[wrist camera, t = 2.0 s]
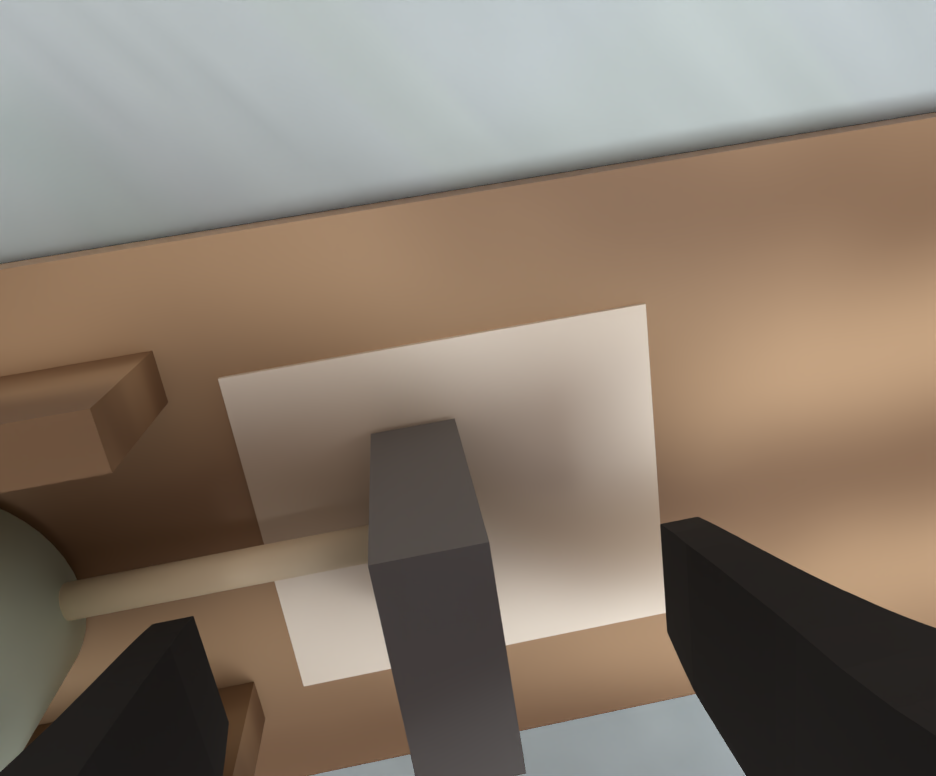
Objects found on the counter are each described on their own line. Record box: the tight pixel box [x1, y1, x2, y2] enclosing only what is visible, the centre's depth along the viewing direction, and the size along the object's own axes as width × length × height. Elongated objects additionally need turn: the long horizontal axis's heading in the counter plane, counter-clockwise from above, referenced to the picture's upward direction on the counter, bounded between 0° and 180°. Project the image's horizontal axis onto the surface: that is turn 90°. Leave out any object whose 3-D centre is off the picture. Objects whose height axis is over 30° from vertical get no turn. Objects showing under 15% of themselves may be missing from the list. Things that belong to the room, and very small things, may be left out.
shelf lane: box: [0, 112, 936, 776], centre depth 14 cm, size 12×25×4 cm, turn 99°
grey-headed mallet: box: [0, 418, 526, 776], centre depth 12 cm, size 5×13×5 cm, turn 99°
